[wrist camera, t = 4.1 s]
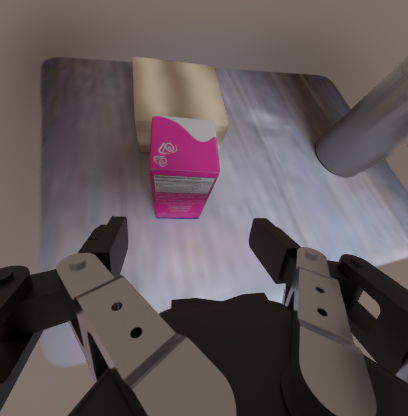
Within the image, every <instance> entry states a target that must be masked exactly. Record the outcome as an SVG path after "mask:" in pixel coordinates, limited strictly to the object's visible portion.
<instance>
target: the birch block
mask: <svg viewBox="0 0 408 416" xmlns="http://www.w3.org/2000/svg"><path fill="white" fill-rule="evenodd" d="M133 86H134V118H135V126H136V133H137V139H138V145H139V152H150V142H151V124H152V115H163V116H172V117H180V118H190V119H202V120H213V121H215V127H216V136H217V146H218V151H219V149H220V146H221V144H222V141H223V139H224V136H225V134H226V132H227V129H228V127H229V122H228V118H227V114H226V111H225V107H224V103H223V99H222V95H221V92H220V88H219V84H218V80H217V76H216V73H215V69H214V66H208V65H199V64H191V63H183V62H174V61H166V60H157V59H150V58H141V57H133Z"/></svg>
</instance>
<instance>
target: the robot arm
mask: <svg viewBox="0 0 408 416" xmlns="http://www.w3.org/2000/svg"><path fill="white" fill-rule="evenodd" d="M407 145H408V56H407V57H406V58H405V59H404V60H403V61H402V62H401V63H400V64H399V65H398V66H397V67H395V68H394V69H393V70H392V71H391V72H390V73H389V74H388V75H387V76H386V77H385V78H384V79H383V80H382V81H381V82H380V83H379V84H378V85H376V86H375V87H374V88H373V89H372V90H371V91H370V92H369V93H368V94H367V95H366V96H365V97H364V98H363V99H362V100H361V101H359V102H358V103H357V104H356V105H355V106H354V107H353V108H352V109H351V110H350V111H349V112H348V113H347V114H346V115H345V116H344V117H343V118H341V119H340V120H339V121H338V122H337V123H336V124H335V125H334V126H333V127H332V128H331V129H330V130H329V131H328V132H327V133H326V134H325V135H323V136H322V137H321V138H320V139H319V140H318V142H317V143H316V153H317V156H318V158H319V160H320V161H321V163H322V164H323V165H324V166H325V167H326V168H327V169H328V170H329V171H331V172H333V173H334V174H336V175H339V176H342V177H352V176H354V175H356V174H358V173H360V172H363V171H365V170H366V169H368V168H370V167H371V166H373V165H375V164H377V163H378V162H380V161H382V160H383V159H385V158H387V157H388V156H390V155H392V154H394V153H395V152H397V151H399V150H400V149H402V148H404V147H406V146H407ZM249 245H250V248H251V249H252V251H253V252H254V254H255V255H256V257H257V258H258V259H259V261H260V262H261V264H262V265H263V266H264V268H265V269H266V271H267V272H268V274H269V275H270V276H271V278H272V279H273V281H274V282H275V283H276V284H282V283H285V284H286V286H285V289H284V295H283V302H282V304H281V303H278V302H274V301H270V300H268V298H267V297H266V295H265V293H254V294H243V295H240V296H237V297H234V298H231V299H228V300H225V301H214V300H207V299H199V298H190V299H178V300H172V303H171V309H168V310H165V311H163V312H161V313H159V314H158V313H157V312H156V311H155V310H154V309H153V308H152V307H151V306H150V304H149V303H148V302H147V301H146V300H145V299H144V298H143V297H142V296H141V295H140V294H139V292H138V291H137V290H136V289H135V288H134V287H133V286H132V285H131V284H130V283H129V282H128V280H127V279H126V278H125V277H124V276H122V275H120V272H121V269H122V266H123V263H124V259H125V256H126V253H127V249H128V229H127V218H126V217H114V216H112V217H111V219H110V221H109V222H108V224H107V225H100V226H99V227H97V228H96V229H94V231H93V232H92V233H91V236H89V238H88V240H87V241H86V242H85V243H84V245H83V246H82V248H81V249H80V251H79V252H78V254H74V255H71V256H68V257H66V258H65V259H63V260H62V261H60V262H59V263H58V265H57V267H56V269H54V270H51V271H47V272H42V273H37V274H33V275H30V272H29V269H28V268H27V267H25V266H10V267H4V268H1V269H0V411H1V409H2V407H3V405H4V403H5V401H6V400H7V398H8V396H9V394H10V392H11V390H12V388H13V386H14V385H15V383H16V381H17V379H18V377H19V375H20V373H21V371H22V370H23V368H24V366H25V364H26V362H27V360H28V358H29V356H30V354H31V353H32V350H33V348H34V347H35V345H36V343H37V341H38V339H39V338H40V336H41V334H42V332H43V330H44V329H47V328H50V327H53V326H56V325H59V324H62V323H65V322H68V321H69V324H70V326H71V328H72V330H73V332H74V334H75V337H76V339H77V341H78V343H79V345H80V347H81V349H82V351H83V354H84V356H85V358H86V361H87V364H88V367H89V370H90V373H91V376H92V378H93V380H94V383H95V384H94V385H93V386H92V388H91V389H90V390H89V391H88V392H87V393H86V395H85V396H84V397H83V398H82V400H81V401H80V402H79V403H78V404H77V405H76V407H75V408H74V409H73V410H72V411H71V412H70V414H69V415H68V416H408V290H407V289H406V288H404V287H403V286H401V285H400V284H399V283H397V282H396V281H394V280H393V279H391V278H390V277H389V276H387V275H386V274H384V273H383V272H381V271H380V270H378V269H377V268H376V267H374V266H373V265H371V264H370V263H369V262H367V261H365V260H364V259H362V258H359V257H357V256H353V255H348V254H344V255H342V256H341V258H340V260H339V262H335V261H329V260H327V259H326V257H325V256H324V255H323V254H322V253H320V252H319V251H316V250H314V249H311V248H307V247H300V246H299V245H298V244H297V243H296V242H295V241H294V240H292V239H291V238H290V237H289V236H288V235H287V234H286V233H284V232H283V231H282V230H281V229H279V228H278V227H276V226H274V225H273V224H272V223H271V222H270V221H269V220H268V219H266V218H255V219H254V220H253V223H252V228H251V232H250V237H249ZM363 290H364V291H365V292H366V293H367V294H368V295H370V296H371V297H372V298H373V299H374V300H375V301H376V302H377V303H378V304H379V306H380V310H381V312H380V315H379V316H378V318H377V319H376V318H375V317H373V316H372V315H371V314H370V313H369V312H368V311H367V310H366V309H365V308H364V307H363V306H362V305H361V304H360V303H359V302H358V300H359V297H360V296H361V294H362V292H363ZM351 333H352V334H353V335H354V336H355V337H356V339H357V340H358V341H359V342H360V343H361V344H362V346H363V347H364V348H365V349H366V350H367V352H368V353H369V354H370V355H371V356H372V357H373V359H374V360H375V361H376V362H377V363H378V364H377V363H376V362H374V361H373V360H371V359H370V358H368V357H366V356H365V355H363V353H362V351H361V350H360V349H359V347H357V346H356V345H355V344H354V342H353V338H352V334H351Z"/></svg>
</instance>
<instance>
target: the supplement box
mask: <svg viewBox="0 0 408 416" xmlns="http://www.w3.org/2000/svg"><path fill="white" fill-rule="evenodd" d="M149 172H150V179H151V186H152V193H153V200H154V207H155V213H156V218H178V219H198V218H199V216H200V214H201V212H202V210H203V207H204V205H205V203H206V201H207V199H208V197H209V195H210V193H211V190H212V188H213V186H214V184H215V182H216V180H217V178H218V176H219V174H220V167H219V156H218V146H217V136H216V127H215V121H213V120H202V119H190V118H180V117H172V116H163V115H152V124H151V142H150V159H149Z"/></svg>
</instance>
